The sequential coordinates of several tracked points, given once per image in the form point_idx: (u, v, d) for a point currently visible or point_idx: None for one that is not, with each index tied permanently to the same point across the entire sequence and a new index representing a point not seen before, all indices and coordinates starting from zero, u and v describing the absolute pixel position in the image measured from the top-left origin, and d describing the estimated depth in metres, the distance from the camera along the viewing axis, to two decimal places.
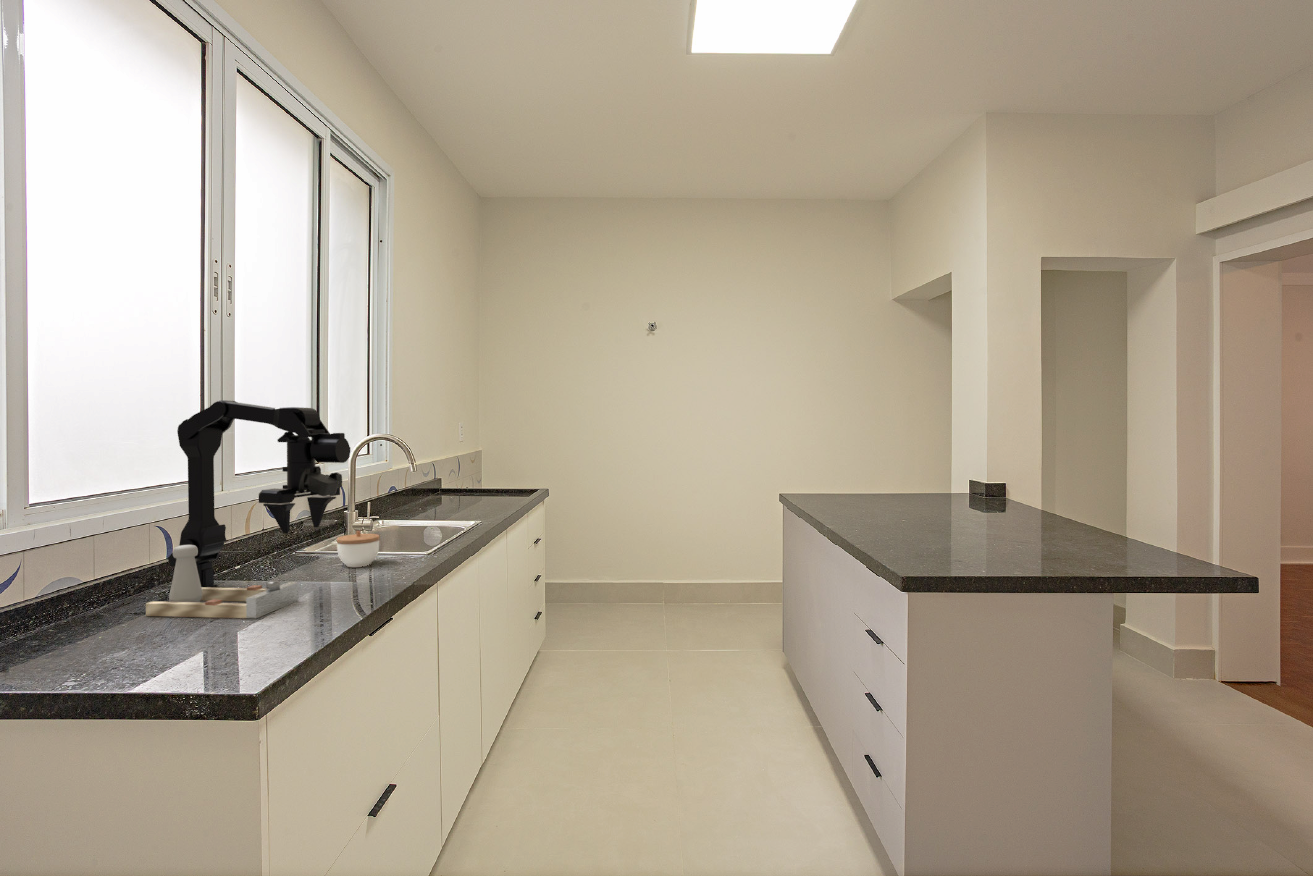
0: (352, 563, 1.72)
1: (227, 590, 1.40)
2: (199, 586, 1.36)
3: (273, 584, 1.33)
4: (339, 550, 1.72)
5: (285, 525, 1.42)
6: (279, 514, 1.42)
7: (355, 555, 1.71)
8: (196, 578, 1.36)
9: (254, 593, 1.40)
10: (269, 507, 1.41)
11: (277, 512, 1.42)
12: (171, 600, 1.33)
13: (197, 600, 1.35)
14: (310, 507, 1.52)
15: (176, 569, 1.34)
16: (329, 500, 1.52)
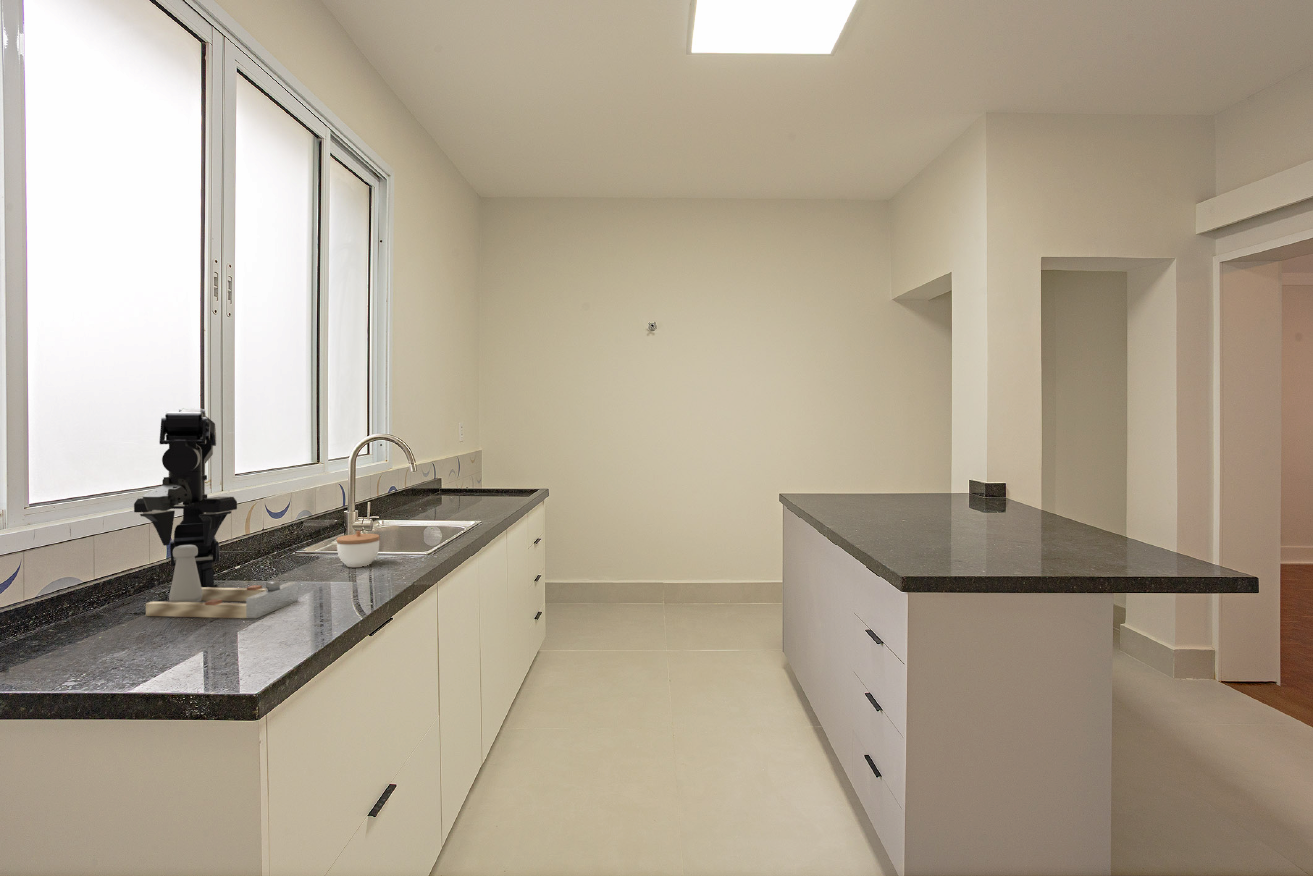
0: (352, 563, 1.72)
1: (227, 590, 1.40)
2: (199, 586, 1.36)
3: (273, 584, 1.33)
4: (339, 550, 1.72)
5: None
6: None
7: (355, 555, 1.71)
8: (196, 578, 1.36)
9: (254, 593, 1.40)
10: None
11: None
12: (171, 600, 1.33)
13: (197, 600, 1.35)
14: None
15: (176, 569, 1.34)
16: (204, 517, 1.33)
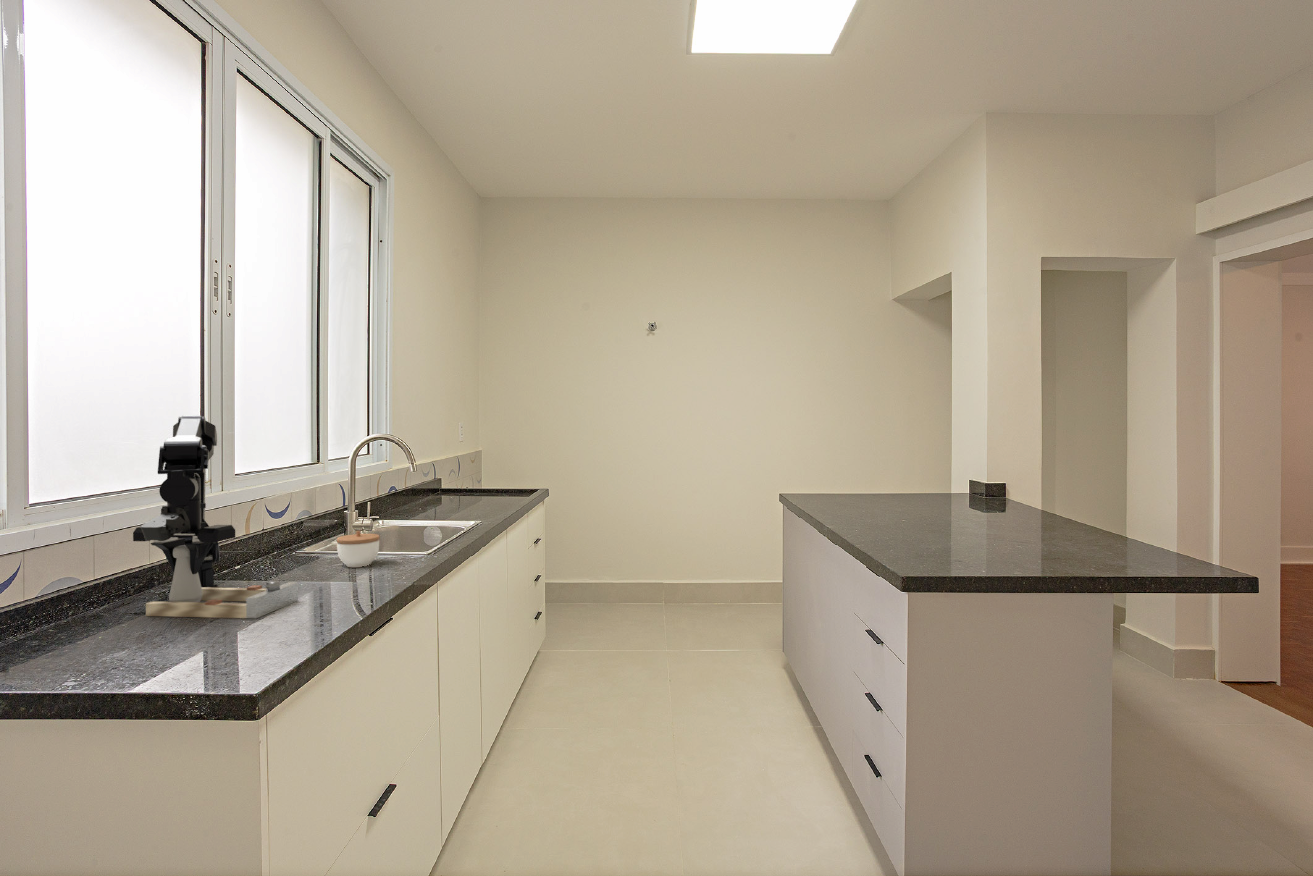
0: (352, 563, 1.72)
1: (227, 590, 1.40)
2: (199, 586, 1.36)
3: (273, 584, 1.33)
4: (339, 550, 1.72)
5: None
6: None
7: (355, 555, 1.71)
8: (196, 578, 1.36)
9: (254, 593, 1.40)
10: None
11: None
12: (171, 600, 1.33)
13: (197, 600, 1.35)
14: None
15: (176, 569, 1.34)
16: (190, 546, 1.33)
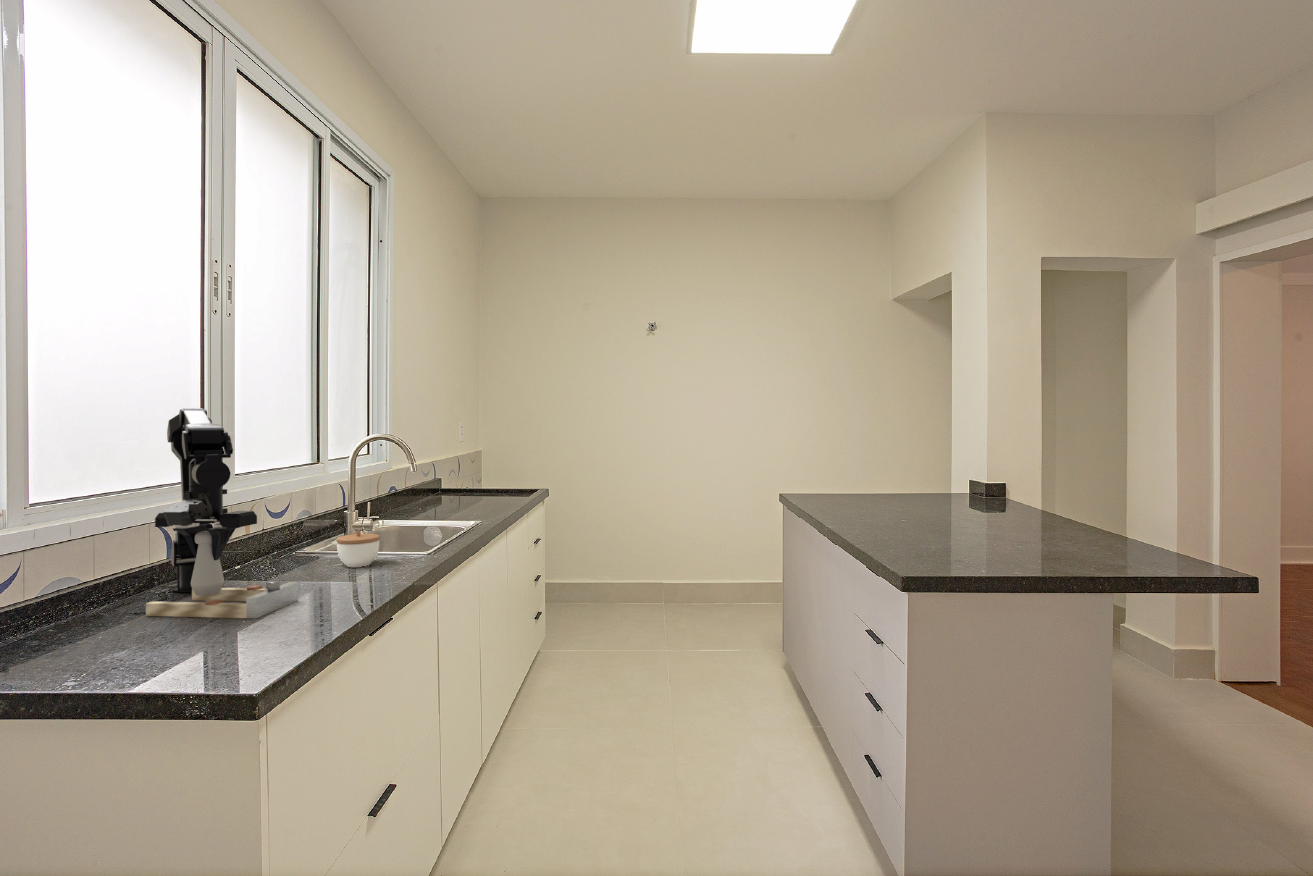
0: (352, 563, 1.72)
1: (227, 590, 1.40)
2: (221, 572, 1.35)
3: (273, 584, 1.33)
4: (339, 550, 1.72)
5: None
6: None
7: (355, 555, 1.71)
8: (218, 564, 1.35)
9: (254, 593, 1.40)
10: None
11: None
12: (193, 586, 1.32)
13: (219, 586, 1.35)
14: None
15: (198, 555, 1.33)
16: (212, 532, 1.32)
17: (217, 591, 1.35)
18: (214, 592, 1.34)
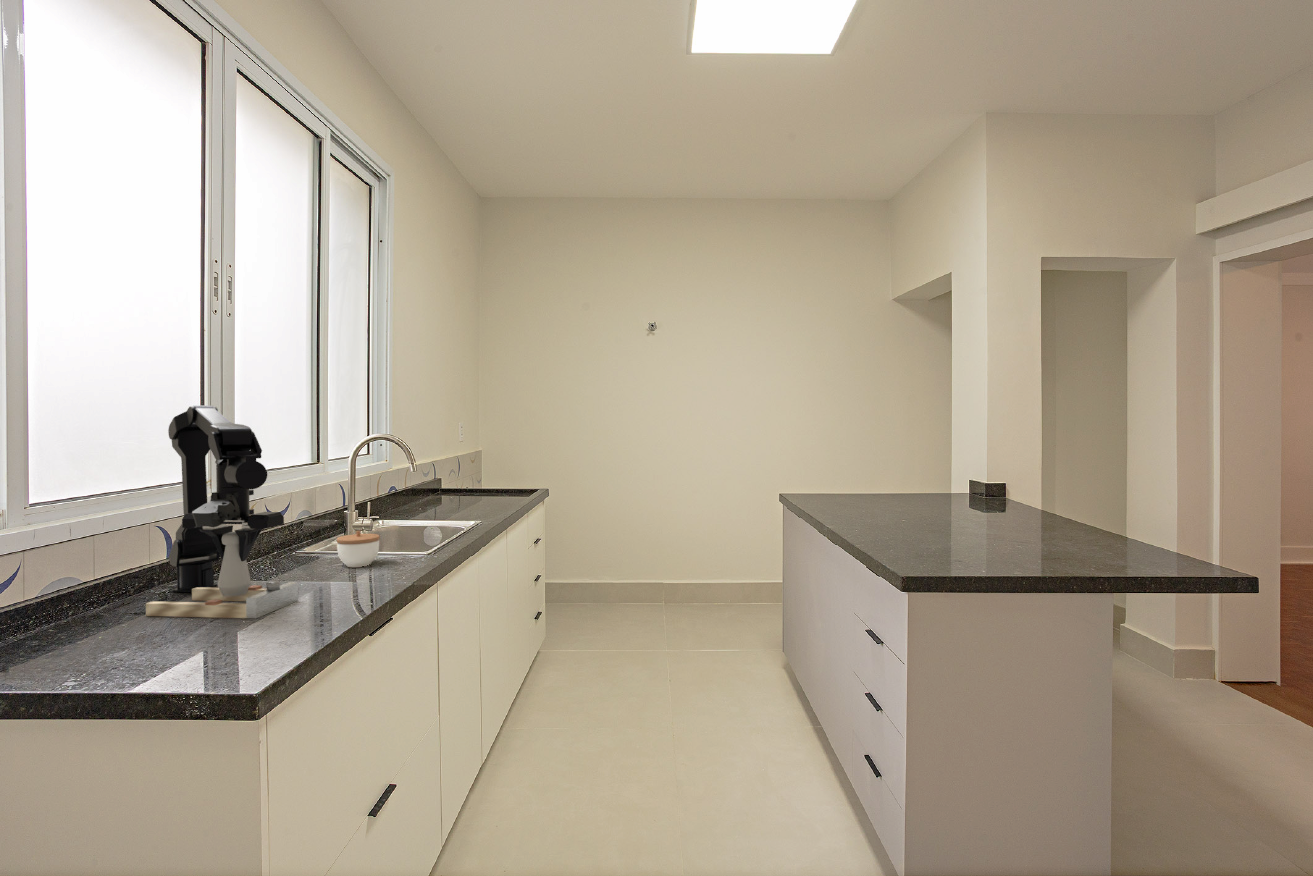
0: (352, 563, 1.72)
1: None
2: (247, 573, 1.35)
3: (273, 584, 1.33)
4: (339, 550, 1.72)
5: None
6: None
7: (355, 555, 1.71)
8: (245, 565, 1.35)
9: (254, 593, 1.40)
10: None
11: None
12: (220, 587, 1.32)
13: (245, 587, 1.34)
14: None
15: (225, 556, 1.33)
16: (240, 533, 1.32)
17: (244, 592, 1.35)
18: (241, 593, 1.34)
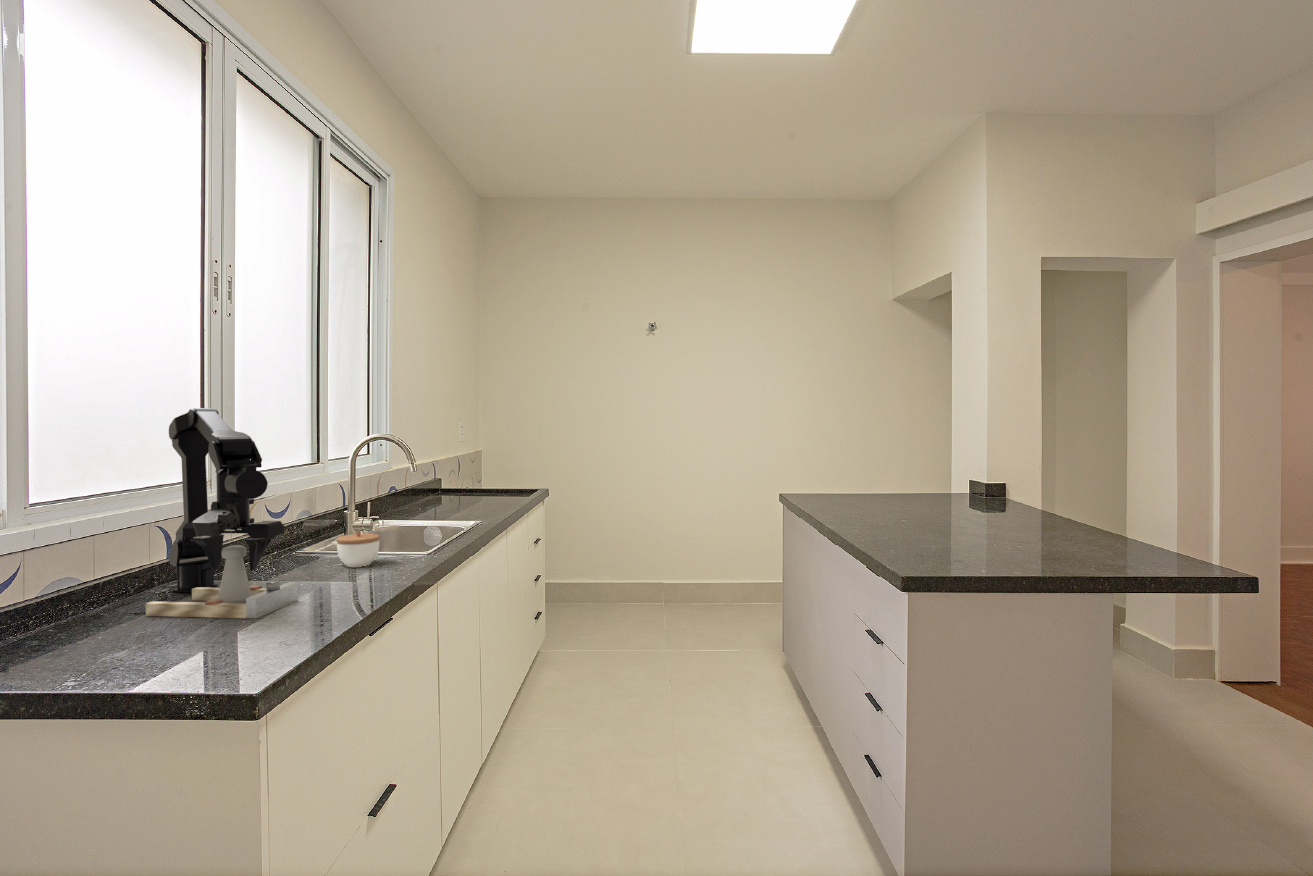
0: (352, 563, 1.72)
1: None
2: (248, 587, 1.35)
3: (273, 584, 1.33)
4: (339, 550, 1.72)
5: None
6: None
7: (355, 555, 1.71)
8: (245, 579, 1.35)
9: (254, 593, 1.40)
10: None
11: None
12: None
13: None
14: None
15: (226, 570, 1.33)
16: (250, 542, 1.31)
17: None
18: None
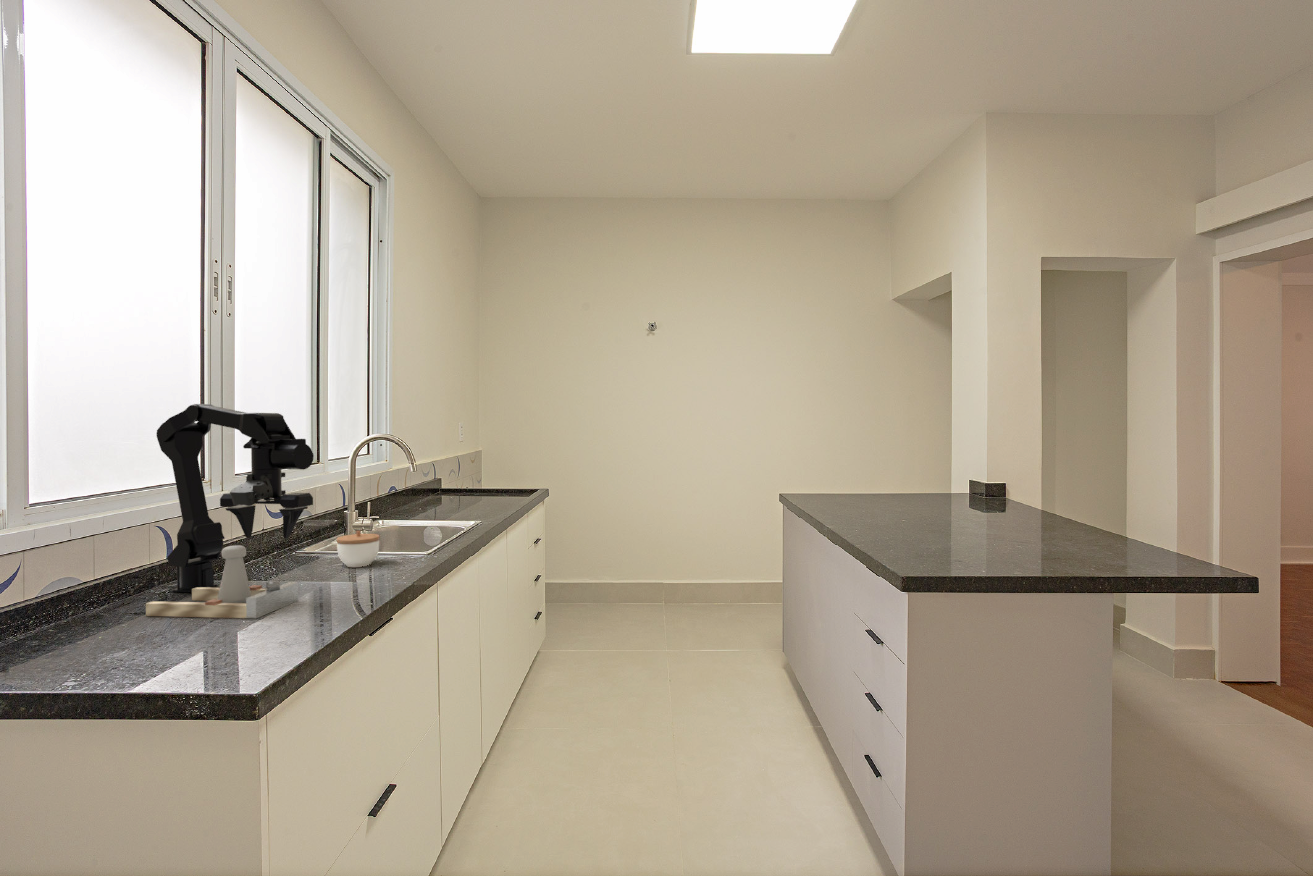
0: (352, 563, 1.72)
1: None
2: (248, 587, 1.35)
3: (273, 584, 1.33)
4: (339, 550, 1.72)
5: None
6: None
7: (355, 555, 1.71)
8: (245, 579, 1.35)
9: (254, 593, 1.40)
10: None
11: None
12: None
13: None
14: None
15: (226, 570, 1.33)
16: (284, 512, 1.41)
17: None
18: None
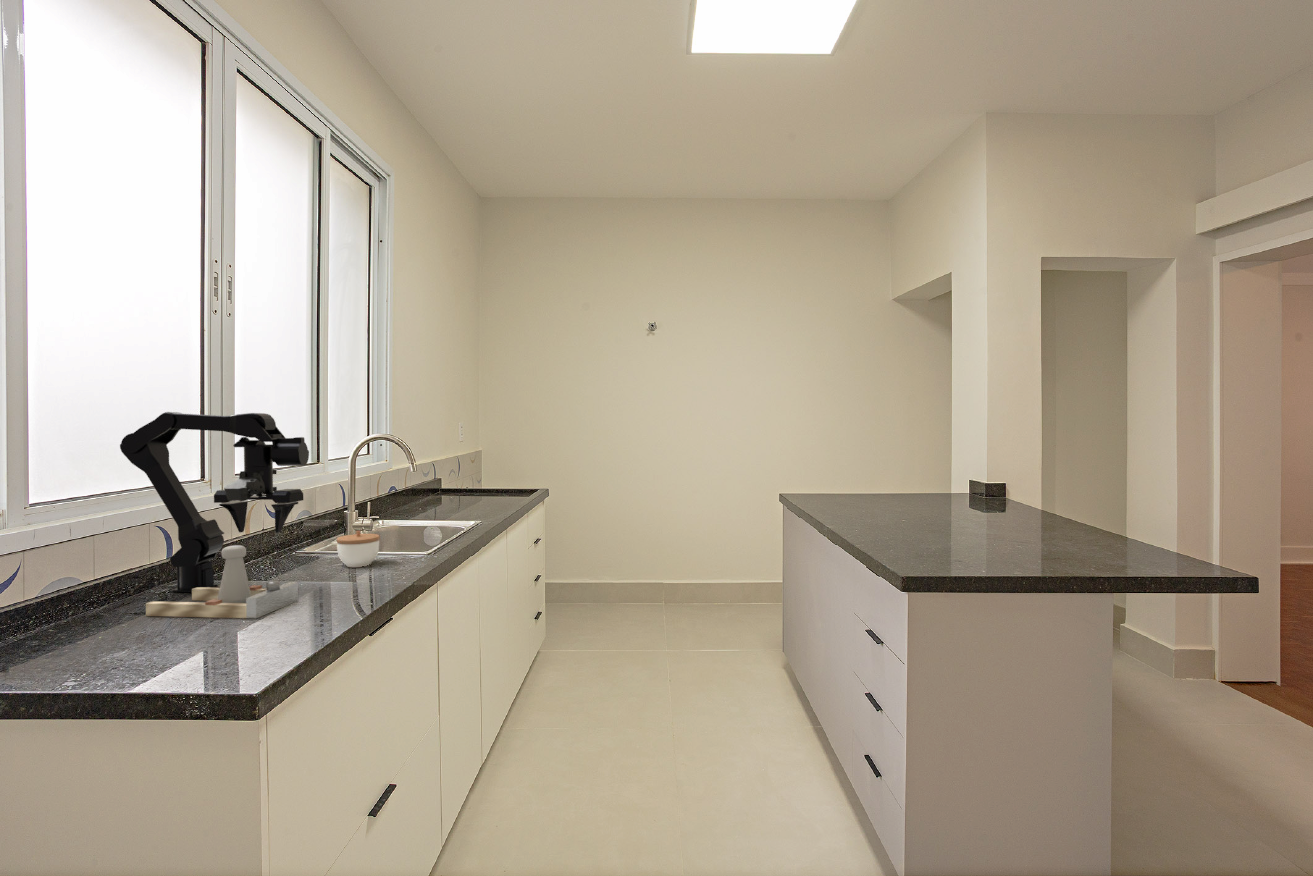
0: (352, 563, 1.72)
1: None
2: (248, 587, 1.35)
3: (273, 584, 1.33)
4: (339, 550, 1.72)
5: None
6: None
7: (355, 555, 1.71)
8: (245, 579, 1.35)
9: (254, 593, 1.40)
10: None
11: None
12: None
13: None
14: None
15: (226, 570, 1.33)
16: (276, 507, 1.49)
17: None
18: None
